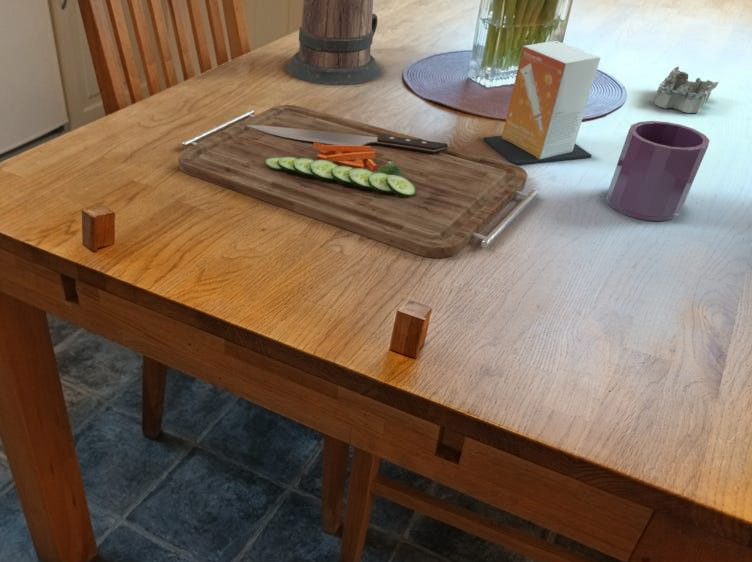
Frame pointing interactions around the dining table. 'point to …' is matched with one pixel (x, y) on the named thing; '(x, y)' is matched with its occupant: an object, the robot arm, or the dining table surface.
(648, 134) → the plum cup
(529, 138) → the small box
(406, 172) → the chopping board
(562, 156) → the coaster pad
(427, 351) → the dining table surface
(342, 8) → the tankard
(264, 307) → the dining table surface
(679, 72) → the egg carton
